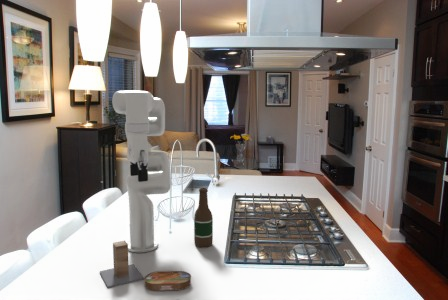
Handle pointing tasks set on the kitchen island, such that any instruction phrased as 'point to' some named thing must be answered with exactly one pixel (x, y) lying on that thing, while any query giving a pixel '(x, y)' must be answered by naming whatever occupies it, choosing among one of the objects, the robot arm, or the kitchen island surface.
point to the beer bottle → (203, 222)
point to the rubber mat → (114, 281)
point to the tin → (167, 280)
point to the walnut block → (120, 259)
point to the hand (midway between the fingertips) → (139, 178)
